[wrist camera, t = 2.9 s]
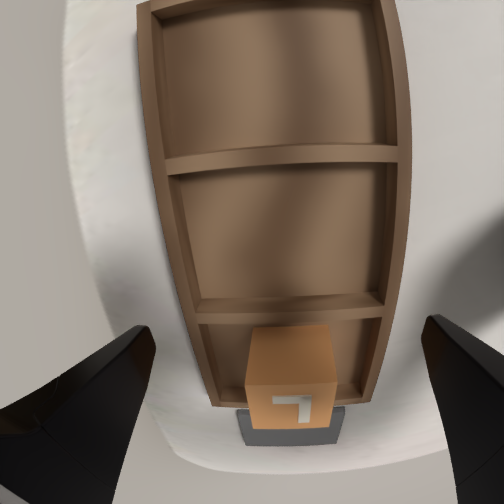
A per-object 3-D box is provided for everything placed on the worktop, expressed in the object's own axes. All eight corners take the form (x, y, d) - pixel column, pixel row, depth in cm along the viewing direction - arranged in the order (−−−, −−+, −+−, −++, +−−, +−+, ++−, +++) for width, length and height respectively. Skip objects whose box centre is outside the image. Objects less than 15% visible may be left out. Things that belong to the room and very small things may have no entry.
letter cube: (328, 324, 18) (337, 383, 14) (323, 373, 20) (329, 428, 16) (253, 327, 19) (244, 386, 14) (259, 375, 21) (252, 430, 16)
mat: (344, 406, 23) (345, 411, 23) (335, 439, 26) (336, 443, 26) (238, 409, 24) (237, 414, 24) (246, 441, 27) (245, 445, 27)
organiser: (378, -2, 10) (390, -16, 8) (365, 382, 21) (370, 401, 20) (152, 15, 12) (136, 4, 10) (216, 386, 23) (212, 406, 21)
